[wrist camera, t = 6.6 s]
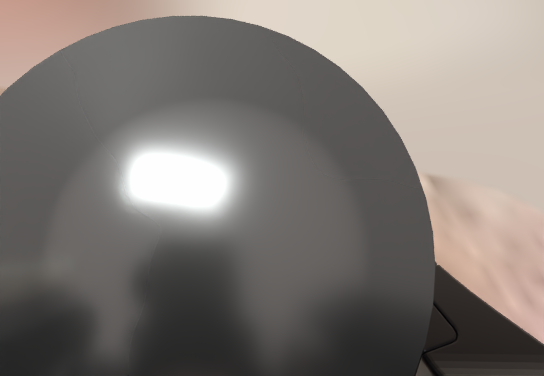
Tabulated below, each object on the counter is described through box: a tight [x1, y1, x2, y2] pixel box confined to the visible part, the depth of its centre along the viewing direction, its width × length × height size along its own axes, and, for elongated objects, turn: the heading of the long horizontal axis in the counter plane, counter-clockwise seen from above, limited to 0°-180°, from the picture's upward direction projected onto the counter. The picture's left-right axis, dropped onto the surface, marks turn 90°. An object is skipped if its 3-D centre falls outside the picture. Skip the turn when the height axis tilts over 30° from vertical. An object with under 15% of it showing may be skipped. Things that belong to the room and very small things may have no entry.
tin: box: [0, 16, 435, 376], centre depth 9 cm, size 4×4×12 cm
